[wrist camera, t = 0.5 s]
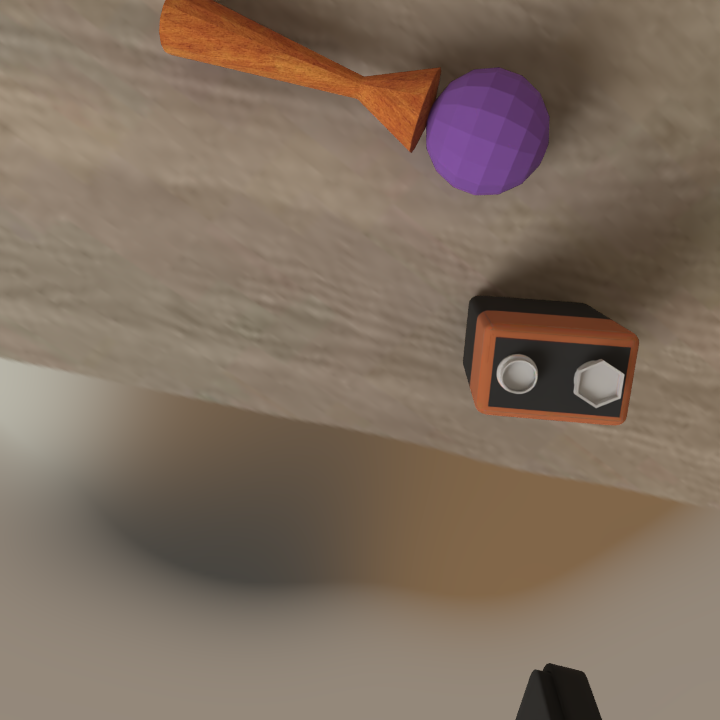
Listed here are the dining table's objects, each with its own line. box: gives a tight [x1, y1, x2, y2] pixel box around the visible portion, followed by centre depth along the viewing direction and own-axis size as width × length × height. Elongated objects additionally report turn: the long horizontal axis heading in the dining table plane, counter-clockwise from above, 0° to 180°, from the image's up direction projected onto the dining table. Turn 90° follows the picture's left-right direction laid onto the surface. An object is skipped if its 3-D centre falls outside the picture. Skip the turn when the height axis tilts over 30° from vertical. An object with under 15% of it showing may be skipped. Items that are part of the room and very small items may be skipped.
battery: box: [463, 296, 639, 425], centre depth 33 cm, size 4×7×10 cm, turn 86°
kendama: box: [159, 0, 549, 195], centre depth 34 cm, size 6×6×20 cm
